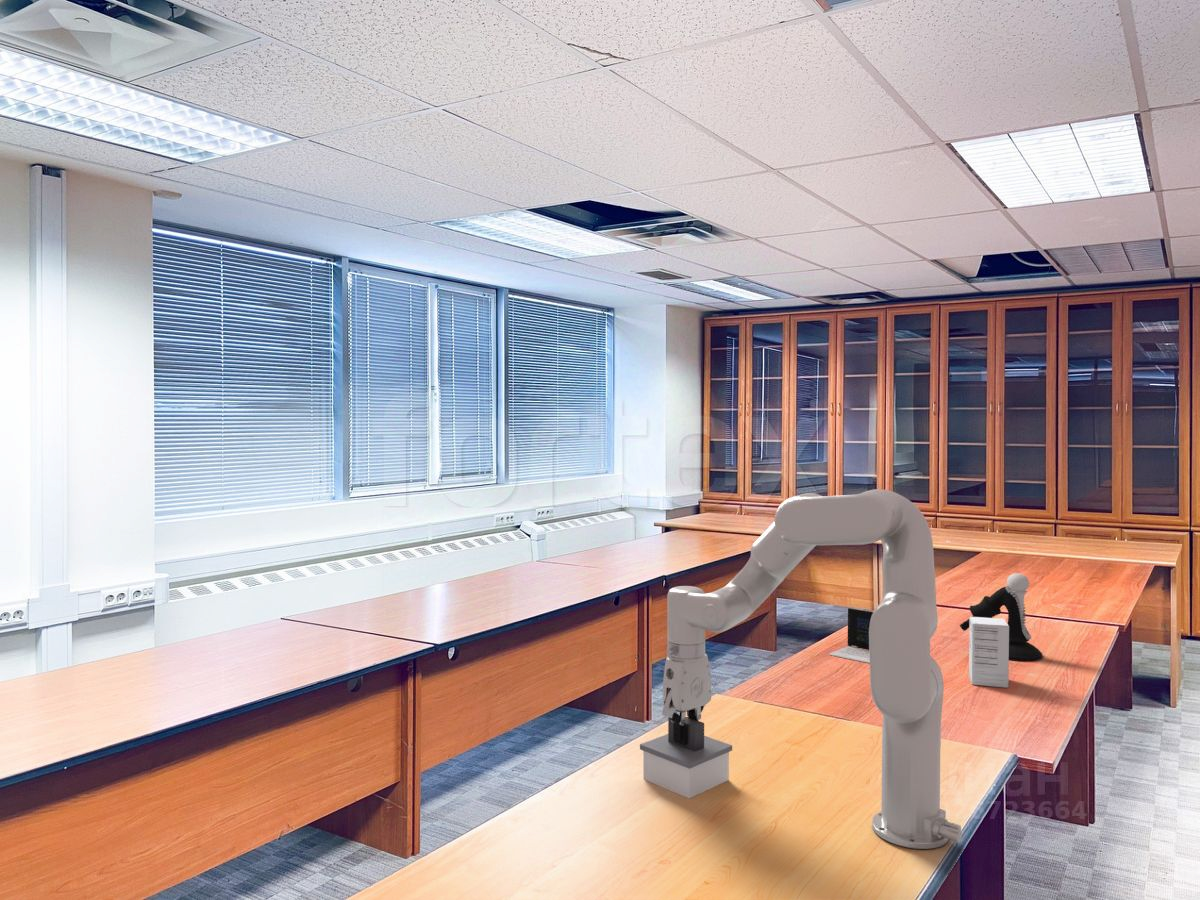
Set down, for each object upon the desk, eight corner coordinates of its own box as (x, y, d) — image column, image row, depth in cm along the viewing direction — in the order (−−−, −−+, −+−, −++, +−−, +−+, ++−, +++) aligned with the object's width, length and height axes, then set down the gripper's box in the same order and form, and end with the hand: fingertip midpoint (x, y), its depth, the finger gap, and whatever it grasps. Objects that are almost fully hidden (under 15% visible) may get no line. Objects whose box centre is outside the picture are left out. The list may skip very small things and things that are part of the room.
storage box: (728, 780, 169) (728, 750, 168) (689, 798, 160) (689, 767, 160) (683, 762, 177) (683, 734, 177) (643, 779, 169) (643, 749, 169)
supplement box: (1009, 688, 226) (1010, 626, 225) (971, 685, 229) (972, 623, 228) (1004, 678, 235) (1005, 618, 234) (968, 675, 238) (969, 615, 237)
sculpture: (1034, 664, 248) (1035, 579, 247) (951, 650, 263) (952, 570, 262) (1047, 653, 259) (1049, 572, 258) (967, 640, 275) (968, 564, 274)
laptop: (828, 656, 258) (828, 614, 258) (847, 648, 267) (848, 607, 267) (884, 668, 246) (885, 623, 246) (903, 659, 255) (903, 616, 255)
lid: (732, 750, 168) (732, 720, 168) (689, 768, 159) (689, 737, 159) (683, 732, 178) (683, 704, 178) (639, 749, 169) (639, 719, 169)
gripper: (672, 661, 160) (672, 757, 160) (726, 645, 171) (726, 735, 171) (644, 653, 165) (644, 746, 166) (698, 638, 176) (698, 725, 177)
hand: (686, 740), depth 169 cm, fingers closed on lid, 2 cm apart
